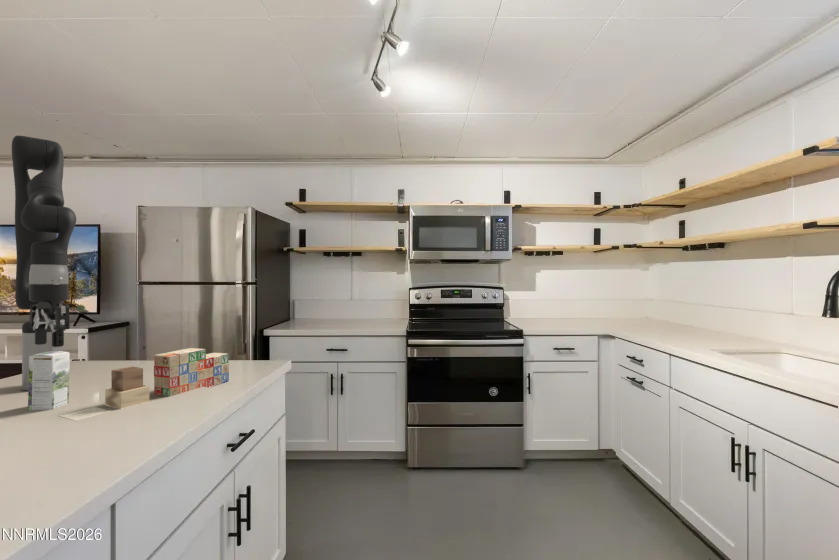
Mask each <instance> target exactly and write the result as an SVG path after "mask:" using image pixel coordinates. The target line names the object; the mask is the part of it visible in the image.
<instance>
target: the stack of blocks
mask: <svg viewBox="0 0 839 560" xmlns="http://www.w3.org/2000/svg"><path fill="white" fill-rule="evenodd" d="M206 350H207V349H206V348H197V347H195V348H194V347H189V348H188V347H187V348H183V349H177V350H174V351H173V350H172V351H168V352H163V353H157V354H154V356H153V357H154V358H153V359H154V360H153V363H154V366H153V379H154V380H153V381H154V382H153V383H154V384H153V385H154V387H153V389H154V390H153V393H154V395H159V396H163V397H173V396H176V395H180V394H183V393H187V392H190V391H193V390H197V389H201V388H210V387H209V386H211V387H213V386H212V385H215V386H217V385H216V384H218V385H221V384H223V382H224V383H227V382H226V381H228V382H229V381H230V377H229V374H230V373H229V372H230V363H229V358H230V357H229V353H225V352H210V353H206V352H207V351H206ZM220 383H221V384H220Z"/></svg>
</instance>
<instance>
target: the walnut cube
mask: <svg viewBox="0 0 839 560" xmlns="http://www.w3.org/2000/svg"><path fill="white" fill-rule="evenodd" d="M143 385H144V367H138V366H127V367H122V368H116V369H112V370H111V389H113V390H118V391H127V390H131V389H136V388H140V387H143Z"/></svg>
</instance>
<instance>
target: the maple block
mask: <svg viewBox="0 0 839 560" xmlns="http://www.w3.org/2000/svg"><path fill="white" fill-rule="evenodd" d="M104 390H105V397H104V398H105V399H104V401H105V404H104V406H105V405H108V406H107V407H109V406H112V407H111V408H114V407H117V408H116V409H118V408H121V409H120V410H123V409H126V408H125V407H127V408H130V407H129V406H131V407H134V406H133V405H135V406H137V404H139V405H142V404H145V403H144V402H146V403H149V402H148V401H150V385H149V386H148V385H144V384H143V387H140V388H136V389H131V390H127V391H118V390H113V389H111V388H106V389H104ZM141 403H142V404H141ZM122 408H123V409H122Z"/></svg>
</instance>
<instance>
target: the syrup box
mask: <svg viewBox="0 0 839 560" xmlns="http://www.w3.org/2000/svg"><path fill="white" fill-rule="evenodd" d="M70 356H71V355H70V352H69V351H64V350H63V351H50V352H45V353H40V354H36V355H31V356H29V385H28V390H27V391H28V393H27V394H28V397H27V398H28V399H27V411H48V410H49V411H50V410H54V409H57V408H60V407H62V406H65V405H68V404H69V403H70V402H69V401H70V400H69V399H70V397H69V395H70V393H69V392H70V359H71V358H70Z"/></svg>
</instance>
